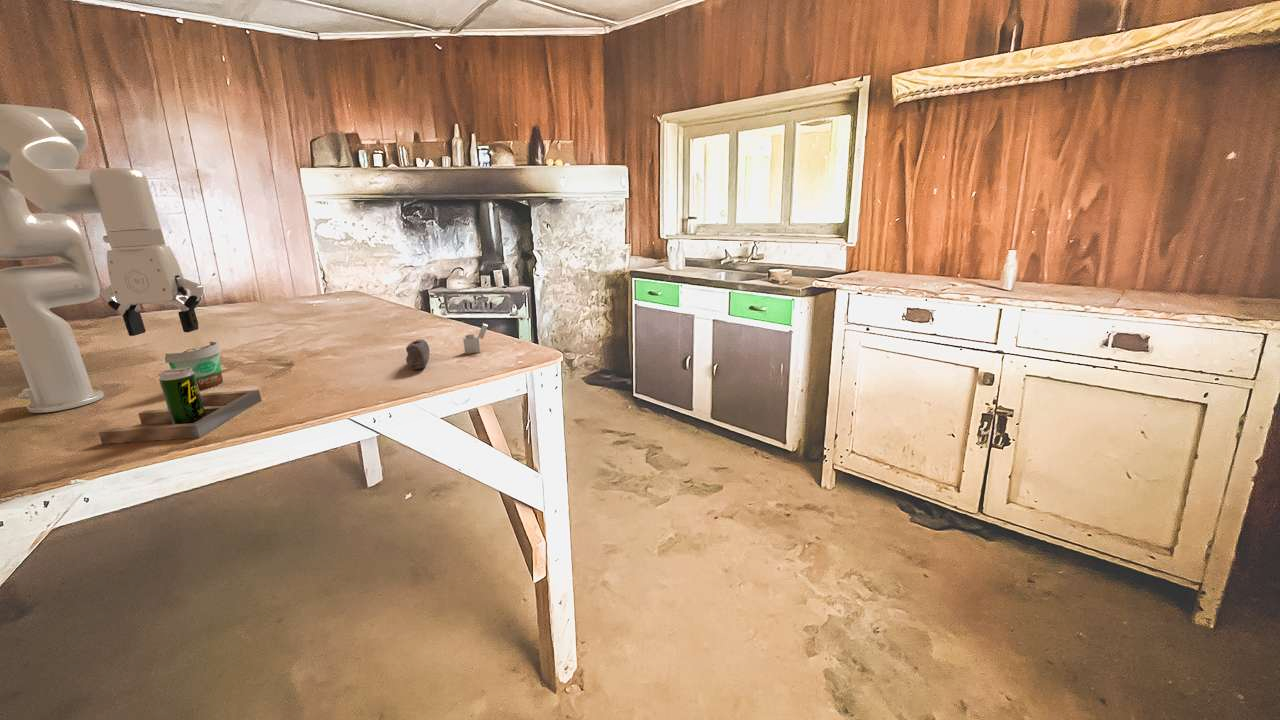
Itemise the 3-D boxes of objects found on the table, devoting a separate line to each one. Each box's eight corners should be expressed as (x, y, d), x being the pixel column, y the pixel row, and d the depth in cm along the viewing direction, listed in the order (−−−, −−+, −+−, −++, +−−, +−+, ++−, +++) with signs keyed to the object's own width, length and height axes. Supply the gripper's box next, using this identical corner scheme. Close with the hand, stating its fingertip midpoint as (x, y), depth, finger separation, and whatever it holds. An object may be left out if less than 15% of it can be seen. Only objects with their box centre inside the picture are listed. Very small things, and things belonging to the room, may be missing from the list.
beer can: (169, 435, 107) (151, 376, 104) (184, 424, 112) (167, 368, 109) (200, 431, 108) (183, 373, 105) (214, 421, 113) (198, 365, 110)
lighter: (465, 353, 156) (461, 326, 154) (465, 352, 158) (461, 325, 156) (490, 351, 158) (487, 323, 156) (490, 349, 160) (487, 322, 157)
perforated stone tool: (416, 358, 154) (412, 334, 152) (435, 356, 155) (432, 332, 153) (405, 374, 140) (400, 347, 138) (426, 372, 141) (422, 345, 139)
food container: (195, 395, 130) (184, 354, 127) (174, 394, 132) (162, 354, 129) (241, 378, 142) (231, 341, 139) (221, 378, 143) (211, 340, 140)
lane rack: (102, 444, 104) (98, 432, 103) (180, 405, 124) (177, 395, 123) (199, 437, 105) (196, 425, 105) (261, 400, 125) (258, 389, 124)
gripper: (67, 244, 96) (99, 340, 100) (172, 239, 97) (199, 334, 102) (104, 241, 103) (132, 331, 108) (201, 236, 104) (225, 325, 109)
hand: (164, 332), depth 105 cm, fingers open, 9 cm apart
